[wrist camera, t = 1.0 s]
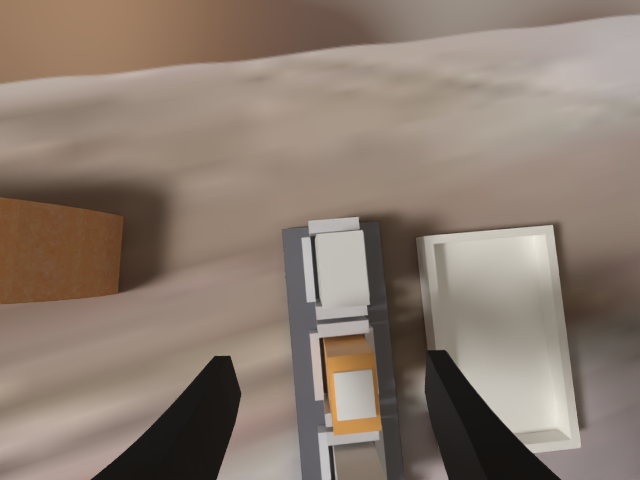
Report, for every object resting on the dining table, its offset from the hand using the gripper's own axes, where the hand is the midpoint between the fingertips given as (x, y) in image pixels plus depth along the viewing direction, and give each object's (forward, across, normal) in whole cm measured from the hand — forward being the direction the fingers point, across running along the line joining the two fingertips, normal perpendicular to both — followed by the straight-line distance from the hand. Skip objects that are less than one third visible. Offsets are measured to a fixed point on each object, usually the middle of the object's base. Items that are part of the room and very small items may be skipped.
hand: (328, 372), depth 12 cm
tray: (+11, -11, +8) cm, 17 cm away
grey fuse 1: (+12, 0, +2) cm, 12 cm away
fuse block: (+9, 0, +8) cm, 13 cm away
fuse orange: (+8, 0, +8) cm, 12 cm away
